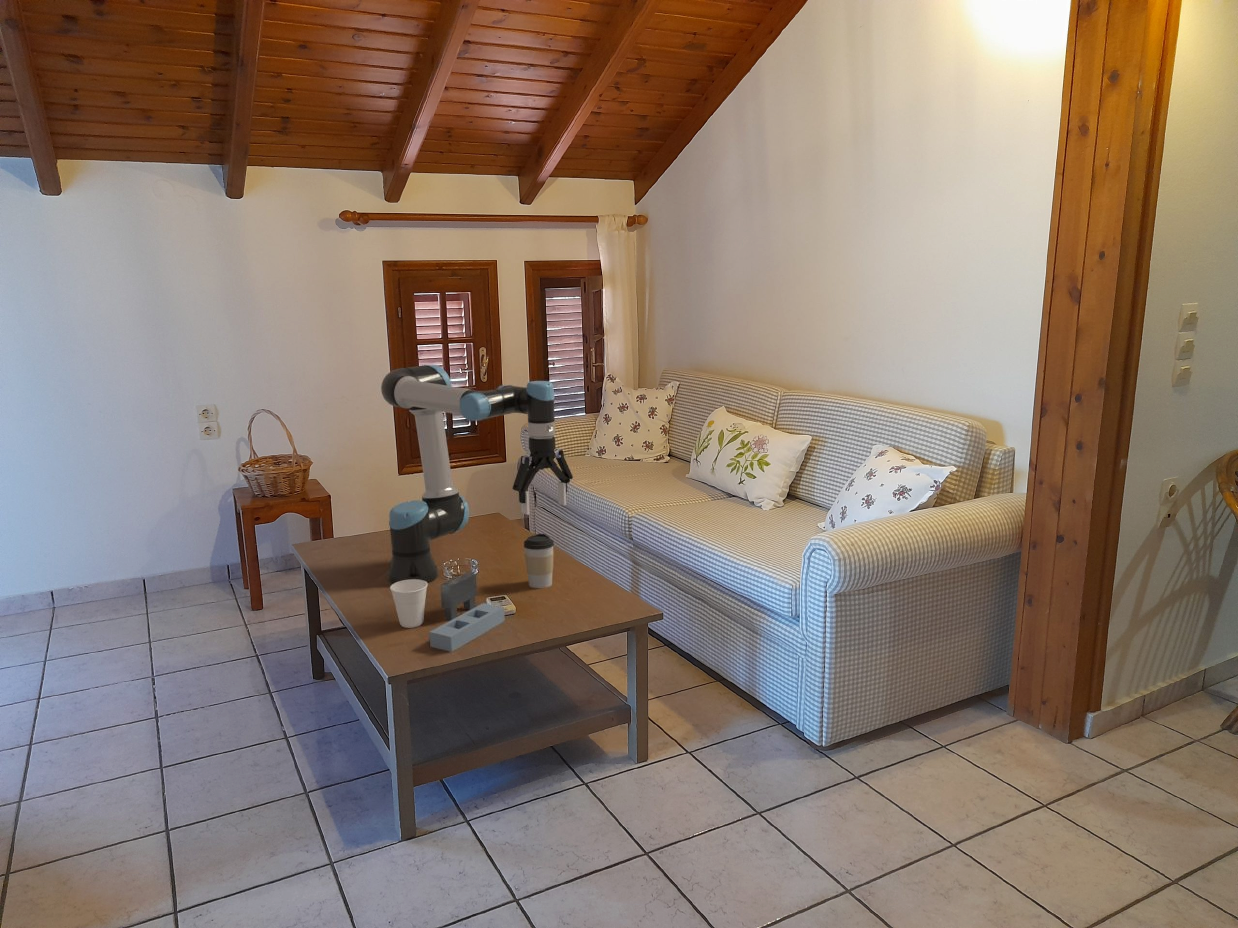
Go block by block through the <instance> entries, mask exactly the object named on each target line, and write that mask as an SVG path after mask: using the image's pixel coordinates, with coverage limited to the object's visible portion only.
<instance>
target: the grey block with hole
mask: <svg viewBox="0 0 1238 928" xmlns="http://www.w3.org/2000/svg"><path fill="white" fill-rule="evenodd" d="M505 621H506V619H505V607H504V606H500V605H496V604H490V603H486V602H483V603H480V604H479V605H477V606H476V607H475V608H473V609H471V610H467V611H466V612H464V613H462V614H460V615H457V617H456V618H454V619H452V620H449V621H447V622H445V623H443V624H441V625H439V626H437V627H436V628H434V629H432V630H430V631H429V632H428V633H429V643H430V645H429V646H430V647H431V648H435V649H438V650H442V651H448V652H450V653H452V652H454V651H456V650H457V649H459V648H461V647H463V646H464V645H466V644H467V643H470V642H471V641H474V640H475V639H476V638H479V637H480V636H482V635H484V634H485V633H487V632H488V631H490V630H492V629H493V628H495V627H498V626H499V625H500V624H502V623H504V622H505Z"/></svg>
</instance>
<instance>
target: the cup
mask: <svg viewBox="0 0 1238 928" xmlns="http://www.w3.org/2000/svg"><path fill="white" fill-rule="evenodd" d="M428 585H429V584H428V583H427V582H426V581H423V580H417V579H411V580H403V581H399V582H396V583H394V584H392V583H391V584H390V587H389V590H390V591H391V595H392V598H393V599H392V600H393V602H394V606H395V609H396V614H397V617H398V621H399V624H400V626H402V627H403V628H406V629H407V628H408V629H412V628H417V627H419V626H421V625H422V624H423V623H424V618H425V617H424V616H425V610H426V609H425V606H426V596H427V589H428Z"/></svg>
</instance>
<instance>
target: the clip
mask: <svg viewBox="0 0 1238 928" xmlns="http://www.w3.org/2000/svg"><path fill="white" fill-rule="evenodd" d="M477 586H478V585H477V573H473V572H469V571H467V572H464V573H462V574H460V575H459V576H456V577H454V578H452V579H450V580H448V581H445V582H444V583H441V584H440V596H441V597H440V600H441V608H442V609H444V611H443V612H444V619H445V620H447V621H448V620H449V621H451V620H452V619H454V618H456V617H458V606H460V605H463V606H462V607H463V610H467V611H469V610H471V609H473V608H475V607H477V606H476V605H477V603H476V597H477V596H478V590H477V588H478V587H477Z"/></svg>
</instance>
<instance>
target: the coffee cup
mask: <svg viewBox="0 0 1238 928" xmlns="http://www.w3.org/2000/svg"><path fill="white" fill-rule="evenodd" d="M554 542H555V541H554V539H552V538H551V537H550V536H548V535H547V534H545V533H537V534H535V535H529V536H528V537H527V539H526V540H524V541H523V548H524V557H525V565H526V573H527V579H528V586H529V587H531V588H533V589H546V588H548V587H551V586H553V571H554V546H555V543H554Z"/></svg>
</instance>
